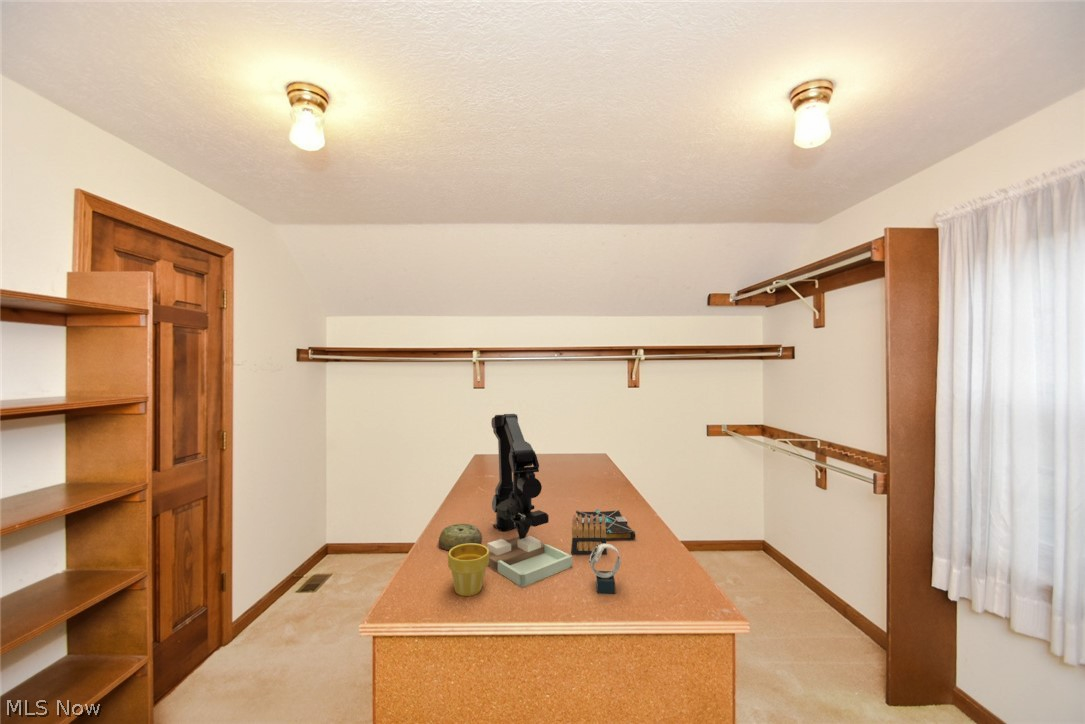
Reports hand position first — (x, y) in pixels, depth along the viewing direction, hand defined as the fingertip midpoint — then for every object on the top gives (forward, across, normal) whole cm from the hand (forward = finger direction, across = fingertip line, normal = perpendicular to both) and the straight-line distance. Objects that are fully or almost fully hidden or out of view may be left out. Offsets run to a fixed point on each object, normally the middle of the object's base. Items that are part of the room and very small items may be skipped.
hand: (522, 540), depth 133 cm
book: (+4, +3, +34) cm, 34 cm away
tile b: (+1, -1, -8) cm, 8 cm away
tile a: (+1, +3, 0) cm, 3 cm away
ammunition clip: (+4, +14, +15) cm, 21 cm away
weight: (+4, -18, -11) cm, 22 cm away
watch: (+4, +31, +3) cm, 31 cm away
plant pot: (+4, +9, -24) cm, 26 cm away
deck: (+4, 0, -4) cm, 5 cm away
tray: (+4, +11, -4) cm, 12 cm away
